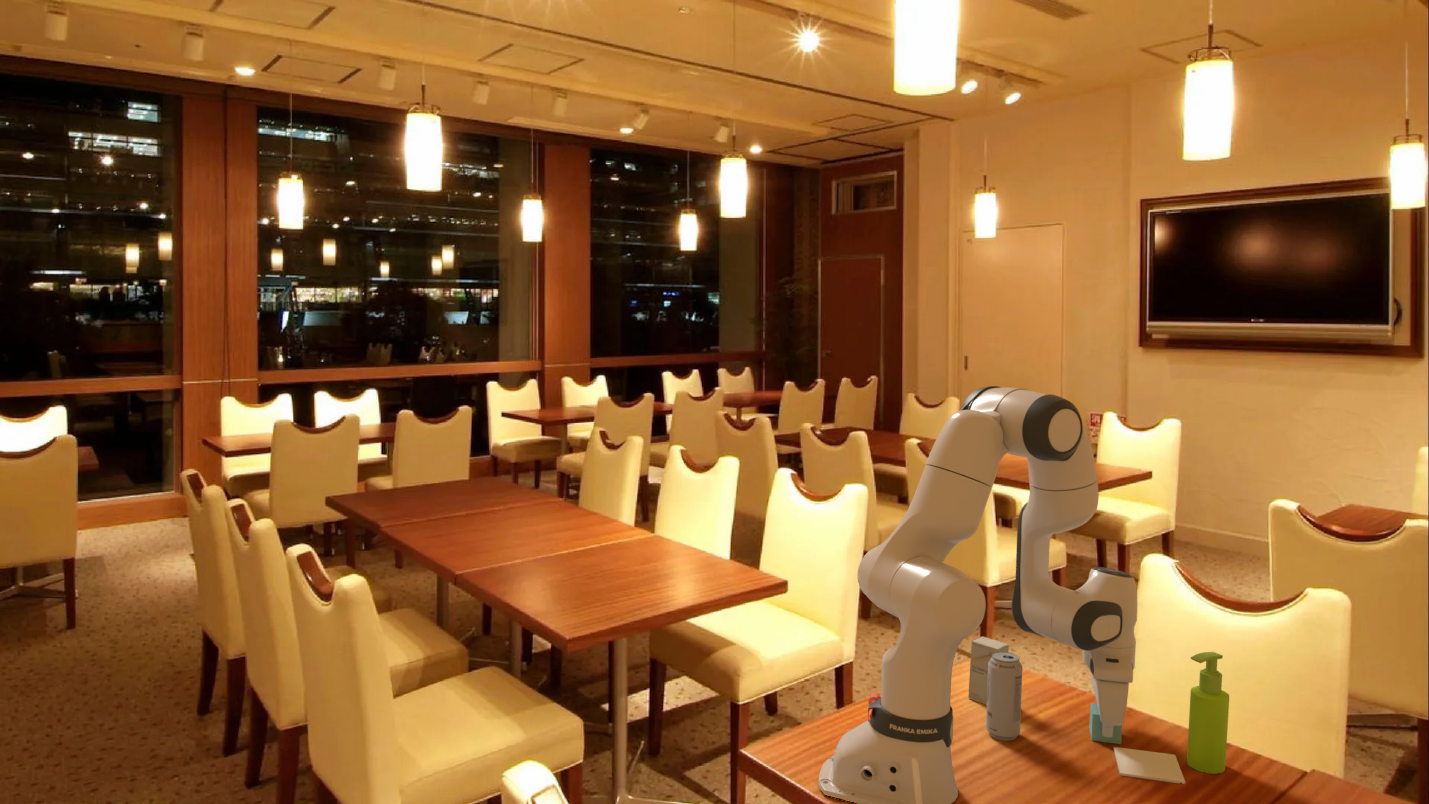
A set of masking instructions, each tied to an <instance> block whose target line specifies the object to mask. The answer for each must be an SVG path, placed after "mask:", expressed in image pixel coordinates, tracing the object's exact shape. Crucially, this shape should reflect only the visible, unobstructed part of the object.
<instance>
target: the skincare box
mask: <svg viewBox="0 0 1429 804" xmlns="http://www.w3.org/2000/svg"><path fill="white" fill-rule="evenodd" d="M970 647H971V648H970V665H969V678H968V679H969V681H968V682H969V683H968V696H967V697H968V699H970V700H972V701H975V702H978V703H980V704H983V705H985V706H987V685H988V662H989V661H990V659H991V658H992V654H993V653H995V652H1009V649H1010V648H1009V647H1010V644H1009V643H1006V642H1002V641H999V640H997V639H993V638H989V637H986V636H984V635H983V636H982V635H981V636H979V637H977V638H974V639H973V640H971V646H970Z"/></svg>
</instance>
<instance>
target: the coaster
mask: <svg viewBox="0 0 1429 804" xmlns="http://www.w3.org/2000/svg"><path fill="white" fill-rule="evenodd" d="M1113 752H1114V756H1115V760H1116V765H1117V768H1118V774H1119V776H1122V777H1123V776H1124V777H1129V778H1137V779H1144V780H1151V781H1152V780H1153V781H1158V782H1166V783H1174V784H1180V783H1182V785H1186V780H1185V777H1184V775H1183V771H1182V770H1181V767H1180V764H1179V761H1178V758H1177V756H1176V754H1173V753H1164V752H1156V751H1148V750H1141V749H1135V748H1133V749H1132V748H1127V747H1125V748H1124V747H1117V746H1113Z"/></svg>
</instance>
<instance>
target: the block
mask: <svg viewBox="0 0 1429 804" xmlns="http://www.w3.org/2000/svg"><path fill="white" fill-rule="evenodd" d="M1089 707H1090V709H1089V710H1090V711H1089V728H1088V729H1089V733H1090V734H1089V735H1090V740H1091V741H1094V742H1103V743H1109V744H1117V745H1122V737H1123V736H1122V734H1123V724H1122V725H1120V726H1119V725H1114V728H1113V736H1112V737H1104V736H1103V735H1102V722H1101V719H1100V715H1099V710H1098V706H1097V703H1092V702H1091V703H1090V706H1089Z"/></svg>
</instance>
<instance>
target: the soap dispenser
mask: <svg viewBox="0 0 1429 804" xmlns="http://www.w3.org/2000/svg"><path fill="white" fill-rule="evenodd" d="M1223 656H1224V655H1222V654H1220V653H1217V652H1215V651H1205V652H1200V653H1197V654H1194V655H1192V656H1191V657H1190V659H1191V661H1194V662H1196V663H1199V664H1202V663H1205V668H1202V669H1201V670H1200V671H1199V681H1198V682H1199V685H1196V686H1193V687H1191V688H1190V696H1189V715H1188V716H1189V717H1188V729H1187V730H1188V732H1187V733H1188V735H1187V751H1186V755H1187V756H1186V764H1187V766H1189V767H1190V768H1192V769H1194V770H1196V771H1198V772H1200V773H1204V772H1205V774H1210V773H1211V775H1212V774H1213V775H1215V774H1217V775H1218V773H1219V774H1223V773H1224V772H1225V771H1226V760H1227V743H1228V742H1227V741H1228V727H1229V725H1228V724H1229V710H1230V709H1229V707H1230V695H1229V693H1228V692H1226V691H1224V690H1223V689H1222V683H1223V674H1222V672H1220V671H1218V660H1222V659H1223Z"/></svg>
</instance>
